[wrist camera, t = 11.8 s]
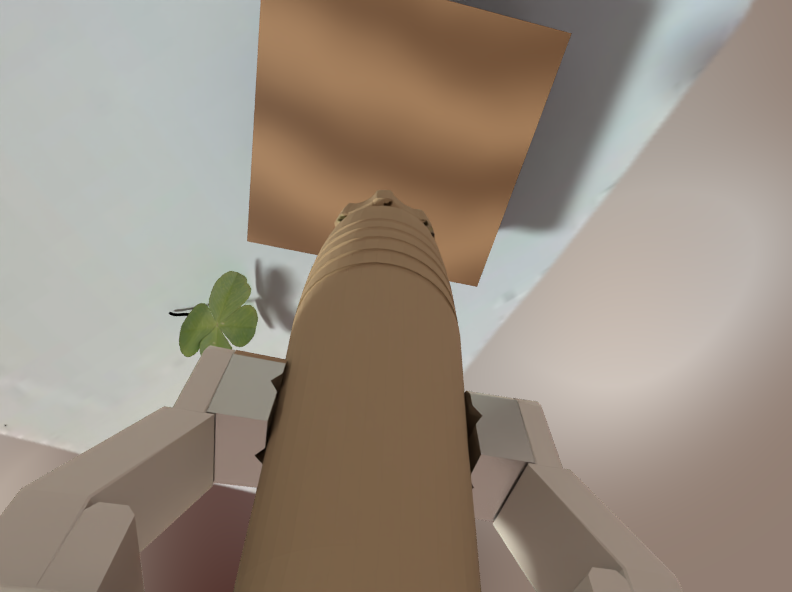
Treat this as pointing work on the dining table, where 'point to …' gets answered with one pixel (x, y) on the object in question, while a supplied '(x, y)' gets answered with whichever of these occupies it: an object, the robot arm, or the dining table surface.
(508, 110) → the stand
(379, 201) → the handle
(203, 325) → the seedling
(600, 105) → the dining table surface
